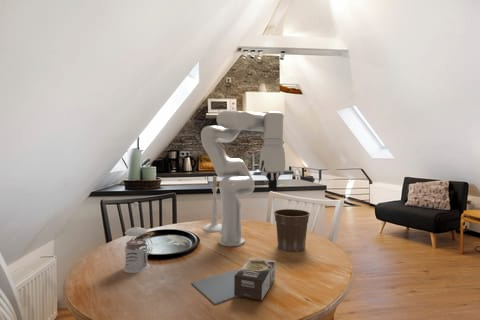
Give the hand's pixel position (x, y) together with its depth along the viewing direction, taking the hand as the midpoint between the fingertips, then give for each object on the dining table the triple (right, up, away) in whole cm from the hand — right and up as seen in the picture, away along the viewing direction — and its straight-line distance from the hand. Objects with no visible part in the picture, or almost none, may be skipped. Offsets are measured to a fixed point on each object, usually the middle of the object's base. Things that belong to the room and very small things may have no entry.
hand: (272, 189), depth 117 cm
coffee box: (-5, -26, -14) cm, 30 cm away
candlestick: (-27, -27, +47) cm, 61 cm away
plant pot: (+11, -28, +17) cm, 35 cm away
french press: (-51, -29, -6) cm, 59 cm away
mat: (-17, -30, -20) cm, 40 cm away
